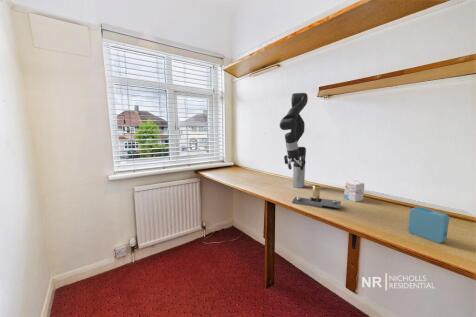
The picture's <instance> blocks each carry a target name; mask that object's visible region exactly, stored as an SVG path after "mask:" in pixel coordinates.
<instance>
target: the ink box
mask: <svg viewBox="0 0 476 317" xmlns="http://www.w3.org/2000/svg"><path fill="white" fill-rule="evenodd" d="M344 183H345V184H344V196H343V199H346V200H349V201H351V202H359V201H363V200H364V194H365V192H364V191H365V183H364V182H363V181H362V180H358V179H355V178H351V179H350V180H349V181H345V182H344Z"/></svg>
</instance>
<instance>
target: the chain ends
mask: <svg viewBox="0 0 476 317" xmlns="http://www.w3.org/2000/svg"><path fill="white" fill-rule="evenodd" d="M291 202H292V203H293V204H297V205H303V206H308V205H309V207H315V208H323V207H329V208H336V209H341V207H342V206H341V204H342V201H341V200H337V199H326V198H321V197H320V198H319V202H317V201H313V196H310V198H308V197H307V198H306V197H300V196H295V197H294V198H293V199H292V201H291Z"/></svg>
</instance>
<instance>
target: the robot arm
mask: <svg viewBox="0 0 476 317" xmlns="http://www.w3.org/2000/svg"><path fill="white" fill-rule="evenodd" d="M290 100H291V108H289V110H288V111H287V113H286V115H285V116H283V117H282V118H281V120H280V121H279V128H280V130H283V131H289V130H290V131H289V132H287V133H285V134H284V140H285V146H286V153H287V154H285V155H284V156H283V158H284V159H283V160H284V164H285V165H287V166H288V170H293V171H292V172H293V173H292V187H294V188H296V189H302V188H304V187H305V181H306V180H305V177H306V163H307V161H306V155H307V148H306V147H305V146H299V144H298V142H299V141H300V139H301V138H302V137H303V135H304V133H305V126H306V125H305V121H304V119H303V118H302V116H301V115H300V113H301V112H302V110H303V109H304V108H305V107H306V106H307V104H308V100H309V96H308V94H307V93H306V92H298V93H297V92H296V93H292V94H291V99H290ZM291 163H293V167H292V164H291ZM292 168H293V169H292Z"/></svg>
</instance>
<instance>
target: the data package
mask: <svg viewBox="0 0 476 317" xmlns="http://www.w3.org/2000/svg"><path fill="white" fill-rule="evenodd" d="M449 223H450V216H449V214H446V213H444V212H440V211H437V210H433V209H428V208H424V207H420V206H415V207H413V208H411V209H410V210H409V216H408V225H407V226H408V227H407V231H408V233H410V234H412V235H415V236H417V237H420V238H423V239H426V240H428V241H430V242H431V241H432V242H434V243H436V244H442V243H443V242H445V241H446V240H447V235H448V229H449Z"/></svg>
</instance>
